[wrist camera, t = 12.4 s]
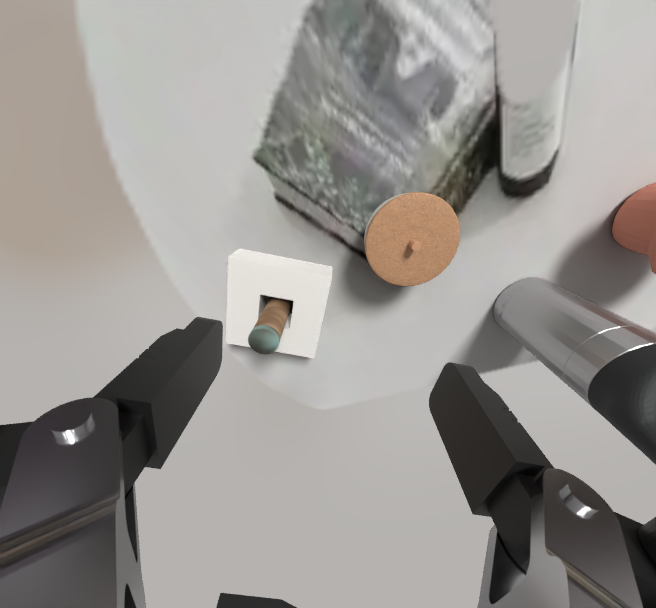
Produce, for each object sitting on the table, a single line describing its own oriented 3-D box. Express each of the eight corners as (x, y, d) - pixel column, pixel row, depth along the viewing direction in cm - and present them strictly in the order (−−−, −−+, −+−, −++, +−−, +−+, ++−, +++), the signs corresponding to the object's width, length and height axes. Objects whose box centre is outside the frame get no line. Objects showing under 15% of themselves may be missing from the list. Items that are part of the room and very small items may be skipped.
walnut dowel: (294, 291, 41) (280, 331, 30) (291, 311, 42) (277, 356, 32) (271, 286, 41) (248, 325, 30) (269, 307, 42) (247, 351, 31)
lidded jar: (414, 276, 39) (435, 303, 31) (348, 253, 38) (352, 274, 30) (451, 206, 35) (488, 214, 26) (378, 177, 34) (392, 176, 25)
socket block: (332, 266, 39) (332, 277, 35) (316, 342, 45) (314, 358, 41) (239, 248, 38) (228, 256, 34) (235, 328, 44) (225, 343, 40)
